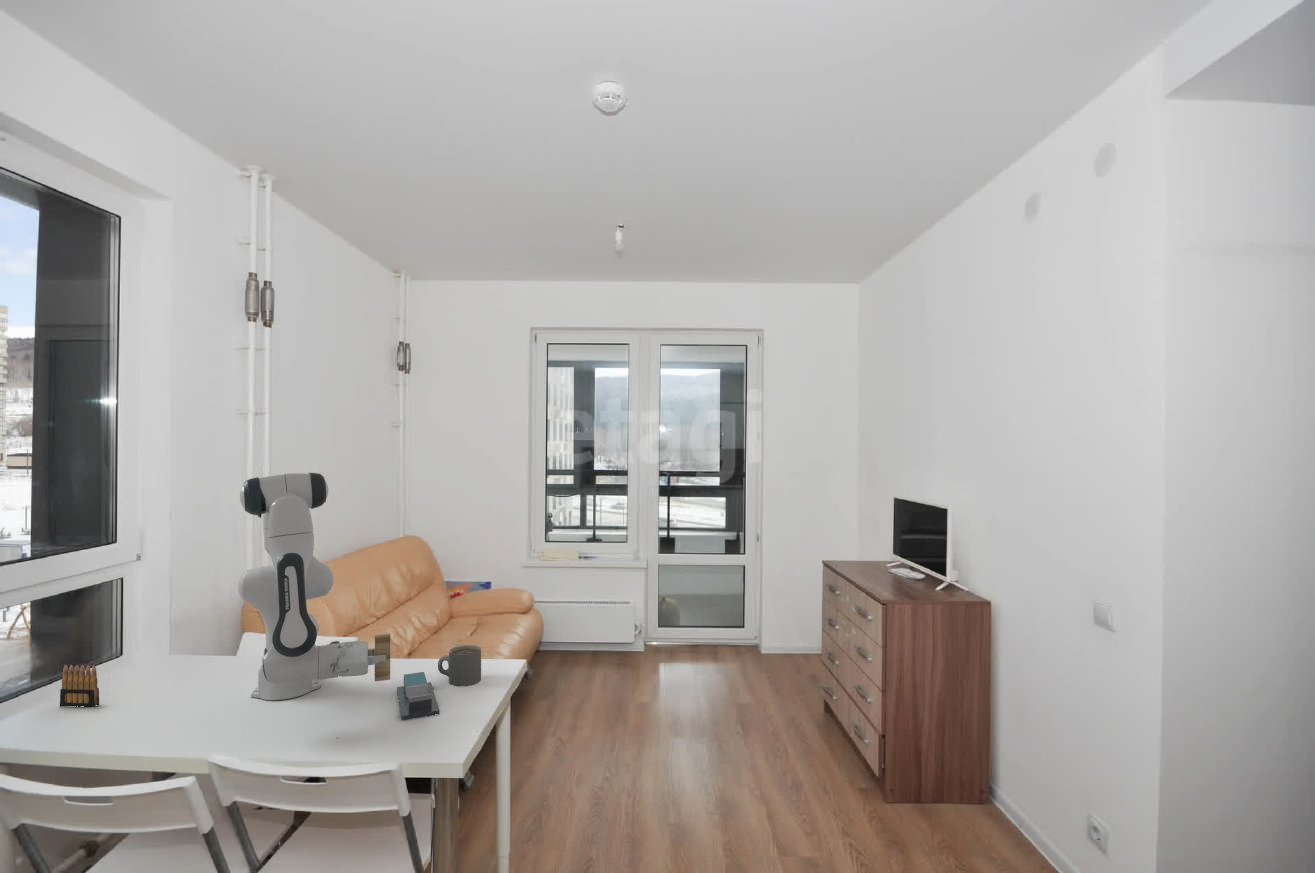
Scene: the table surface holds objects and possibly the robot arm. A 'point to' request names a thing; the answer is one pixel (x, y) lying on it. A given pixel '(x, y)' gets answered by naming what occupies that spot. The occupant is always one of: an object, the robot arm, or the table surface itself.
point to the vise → (417, 704)
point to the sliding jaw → (415, 684)
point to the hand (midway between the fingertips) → (386, 654)
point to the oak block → (382, 648)
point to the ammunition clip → (79, 687)
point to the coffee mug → (462, 665)
